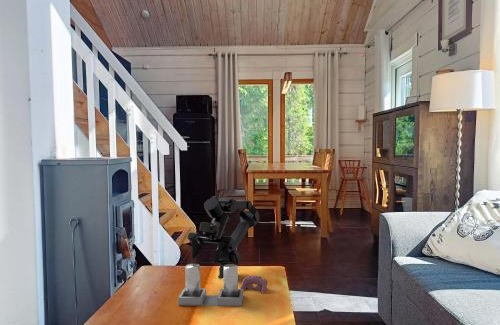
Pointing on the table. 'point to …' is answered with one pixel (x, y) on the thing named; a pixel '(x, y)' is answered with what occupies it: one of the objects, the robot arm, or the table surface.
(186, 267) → the cylinder
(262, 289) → the video game controller
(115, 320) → the table surface
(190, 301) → the grey socket holder
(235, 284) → the billet
